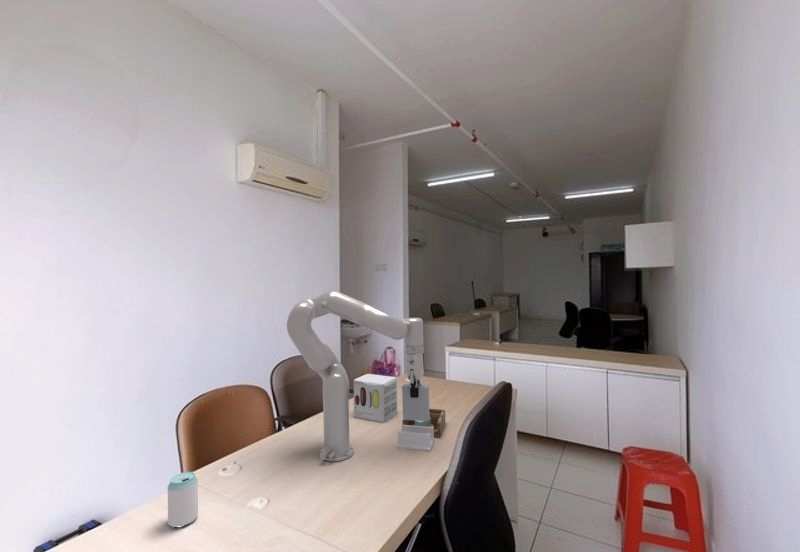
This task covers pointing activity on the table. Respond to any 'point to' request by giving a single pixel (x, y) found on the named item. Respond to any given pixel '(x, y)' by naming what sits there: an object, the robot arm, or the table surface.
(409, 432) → the stand
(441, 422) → the box
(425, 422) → the offcut top
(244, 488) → the table surface
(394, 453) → the table surface
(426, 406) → the sheet
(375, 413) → the supplement box
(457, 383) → the table surface
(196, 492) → the can
